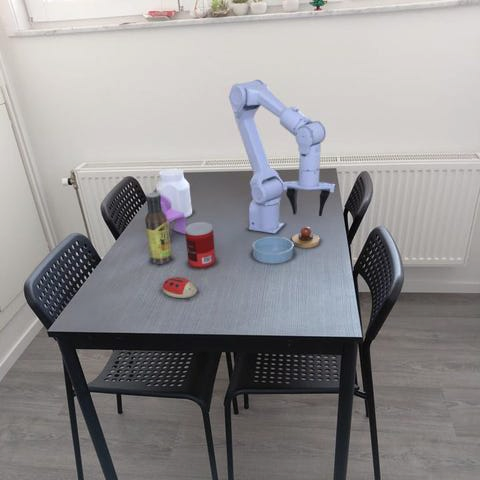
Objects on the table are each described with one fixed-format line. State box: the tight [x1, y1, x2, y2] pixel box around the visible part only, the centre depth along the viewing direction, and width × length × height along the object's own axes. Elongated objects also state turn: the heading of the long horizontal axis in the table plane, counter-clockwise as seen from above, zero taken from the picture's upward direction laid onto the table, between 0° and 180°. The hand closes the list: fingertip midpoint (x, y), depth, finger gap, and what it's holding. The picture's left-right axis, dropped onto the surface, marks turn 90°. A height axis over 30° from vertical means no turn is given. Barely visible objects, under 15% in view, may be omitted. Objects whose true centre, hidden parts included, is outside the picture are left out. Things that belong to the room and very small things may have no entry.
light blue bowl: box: [251, 236, 295, 265], centre depth 141 cm, size 12×12×3 cm
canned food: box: [184, 221, 216, 269], centre depth 136 cm, size 8×8×11 cm
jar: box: [155, 167, 193, 219], centre depth 168 cm, size 12×10×15 cm
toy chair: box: [160, 194, 187, 235], centre depth 152 cm, size 8×9×15 cm
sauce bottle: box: [145, 191, 172, 265], centre depth 136 cm, size 6×6×20 cm
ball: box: [300, 226, 312, 237], centre depth 146 cm, size 3×3×3 cm
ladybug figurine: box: [161, 276, 198, 299], centre depth 125 cm, size 7×10×4 cm
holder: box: [291, 232, 320, 249], centre depth 148 cm, size 8×8×2 cm
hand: (307, 214), depth 143 cm, fingers open, 7 cm apart
